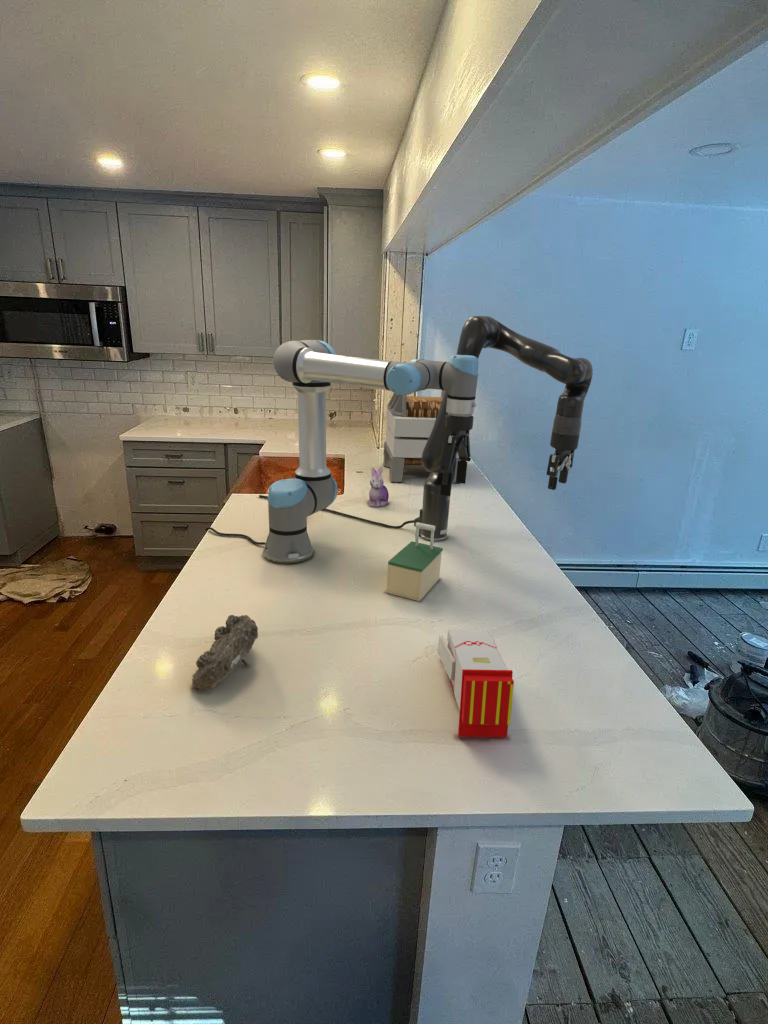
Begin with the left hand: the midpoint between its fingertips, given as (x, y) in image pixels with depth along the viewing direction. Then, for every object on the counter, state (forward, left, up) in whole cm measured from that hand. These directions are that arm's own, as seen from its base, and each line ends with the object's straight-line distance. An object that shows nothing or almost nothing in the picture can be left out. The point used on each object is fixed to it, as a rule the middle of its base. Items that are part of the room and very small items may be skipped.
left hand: (453, 488), depth 161 cm
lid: (-6, -11, -18) cm, 22 cm away
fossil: (-27, -66, -27) cm, 76 cm away
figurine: (-46, +48, -27) cm, 72 cm away
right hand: (+26, +17, +1) cm, 31 cm away
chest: (-6, -11, -27) cm, 30 cm away
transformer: (-49, +100, -27) cm, 115 cm away
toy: (+23, -50, -27) cm, 61 cm away
